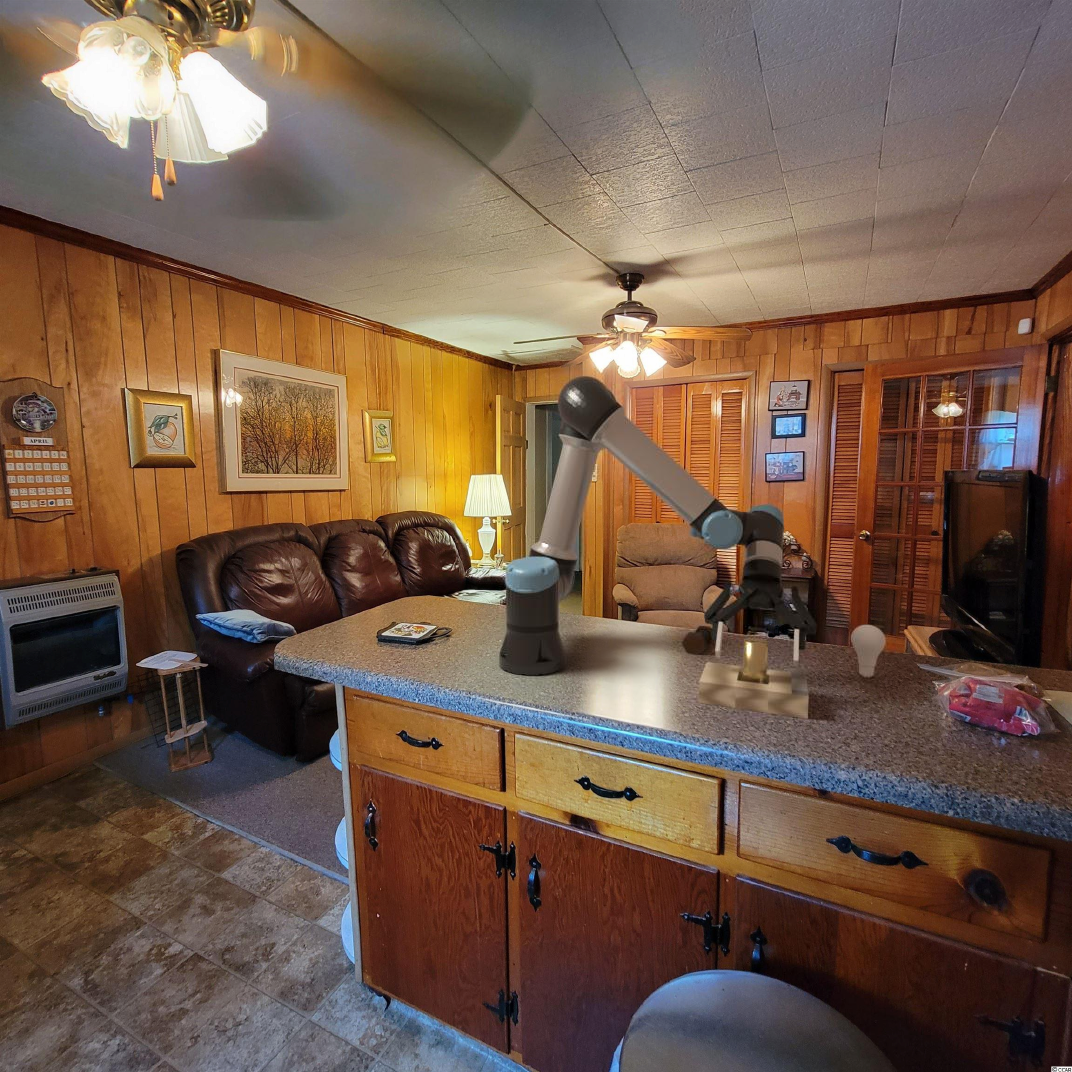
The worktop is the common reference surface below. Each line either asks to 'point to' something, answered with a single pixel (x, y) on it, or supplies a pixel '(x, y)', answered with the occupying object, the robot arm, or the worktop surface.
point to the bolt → (697, 640)
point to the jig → (755, 690)
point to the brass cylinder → (755, 660)
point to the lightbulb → (867, 647)
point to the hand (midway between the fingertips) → (755, 659)
